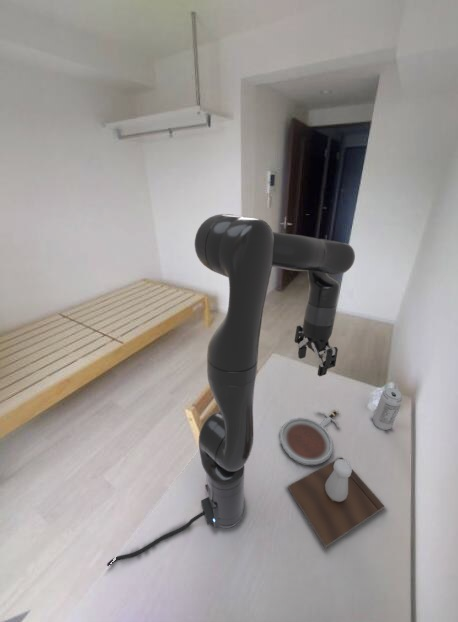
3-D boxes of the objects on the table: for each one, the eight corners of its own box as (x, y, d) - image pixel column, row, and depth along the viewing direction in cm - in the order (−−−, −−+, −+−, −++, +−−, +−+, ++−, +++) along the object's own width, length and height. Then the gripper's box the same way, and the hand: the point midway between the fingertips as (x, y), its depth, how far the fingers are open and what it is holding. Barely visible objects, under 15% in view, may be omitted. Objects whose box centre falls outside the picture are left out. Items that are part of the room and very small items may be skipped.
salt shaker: (341, 482, 77) (350, 454, 71) (349, 505, 72) (360, 476, 66) (320, 483, 77) (328, 455, 70) (328, 506, 72) (336, 477, 65)
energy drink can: (388, 418, 98) (400, 388, 90) (393, 433, 92) (406, 401, 85) (370, 415, 99) (381, 385, 92) (374, 429, 94) (385, 398, 87)
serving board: (325, 548, 65) (326, 545, 64) (288, 488, 77) (288, 485, 76) (383, 509, 72) (384, 505, 71) (341, 460, 84) (342, 456, 83)
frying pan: (360, 422, 94) (313, 473, 78) (358, 428, 95) (311, 479, 79) (318, 394, 105) (269, 434, 89) (316, 400, 106) (268, 440, 91)
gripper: (291, 309, 75) (285, 355, 82) (327, 334, 63) (317, 385, 71) (312, 303, 77) (305, 349, 85) (351, 327, 66) (339, 377, 74)
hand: (311, 365), depth 78 cm, fingers open, 8 cm apart
